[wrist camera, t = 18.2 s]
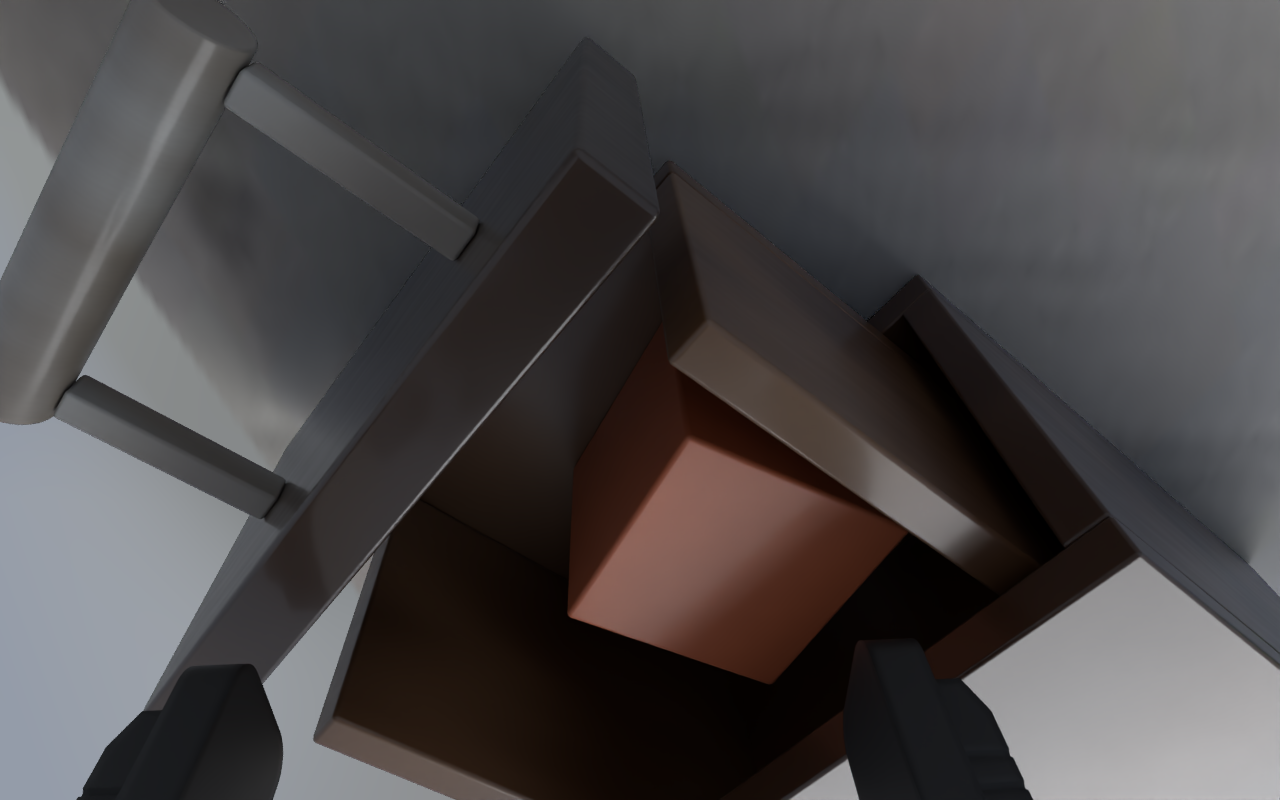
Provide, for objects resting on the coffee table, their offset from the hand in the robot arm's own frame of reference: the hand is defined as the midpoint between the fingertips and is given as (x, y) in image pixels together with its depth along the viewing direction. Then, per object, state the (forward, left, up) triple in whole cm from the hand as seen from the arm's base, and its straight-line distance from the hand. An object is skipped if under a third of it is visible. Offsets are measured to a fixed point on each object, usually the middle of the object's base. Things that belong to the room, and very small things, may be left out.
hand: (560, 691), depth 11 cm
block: (+1, 0, -5) cm, 5 cm away
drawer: (0, 0, -9) cm, 9 cm away
